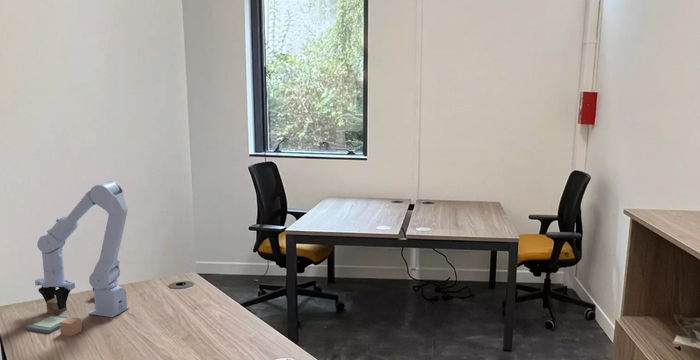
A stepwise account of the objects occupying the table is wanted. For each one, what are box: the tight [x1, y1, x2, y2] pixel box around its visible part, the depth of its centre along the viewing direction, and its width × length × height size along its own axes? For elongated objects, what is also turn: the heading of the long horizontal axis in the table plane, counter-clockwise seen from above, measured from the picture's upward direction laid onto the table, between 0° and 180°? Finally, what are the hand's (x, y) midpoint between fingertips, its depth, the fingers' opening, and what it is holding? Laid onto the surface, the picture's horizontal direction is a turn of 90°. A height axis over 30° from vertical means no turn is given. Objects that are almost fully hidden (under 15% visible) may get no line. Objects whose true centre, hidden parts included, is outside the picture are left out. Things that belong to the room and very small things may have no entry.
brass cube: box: [45, 297, 68, 315], centre depth 163 cm, size 4×4×4 cm
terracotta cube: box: [59, 316, 83, 337], centre depth 148 cm, size 4×4×4 cm
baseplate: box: [26, 314, 70, 334], centre depth 152 cm, size 9×9×1 cm
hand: (56, 307), depth 163 cm, fingers closed on brass cube, 4 cm apart
